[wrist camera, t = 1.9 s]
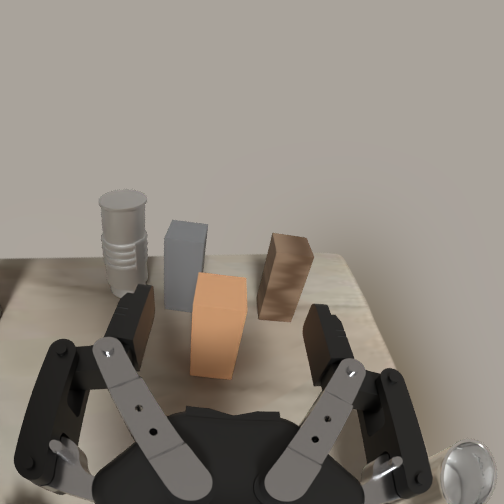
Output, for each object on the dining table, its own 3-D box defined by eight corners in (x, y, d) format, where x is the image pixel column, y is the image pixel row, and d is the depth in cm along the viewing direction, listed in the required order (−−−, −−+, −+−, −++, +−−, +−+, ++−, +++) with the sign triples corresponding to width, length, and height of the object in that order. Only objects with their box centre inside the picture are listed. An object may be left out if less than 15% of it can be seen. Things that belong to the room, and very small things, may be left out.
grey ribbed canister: (127, 307, 39) (119, 214, 31) (99, 286, 41) (88, 199, 33) (158, 285, 44) (158, 198, 36) (129, 268, 46) (125, 185, 39)
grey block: (164, 308, 40) (164, 237, 34) (170, 287, 45) (172, 219, 38) (198, 313, 41) (204, 243, 35) (201, 291, 45) (208, 224, 39)
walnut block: (258, 319, 42) (276, 252, 36) (256, 297, 46) (272, 232, 40) (290, 322, 43) (314, 256, 36) (286, 300, 47) (306, 237, 41)
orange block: (190, 375, 32) (192, 304, 25) (193, 344, 36) (198, 272, 30) (231, 379, 32) (247, 310, 26) (231, 348, 36) (246, 277, 30)
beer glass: (389, 542, 14) (498, 509, 6) (333, 539, 15) (434, 519, 8) (400, 492, 20) (496, 437, 12) (349, 486, 21) (439, 432, 13)
